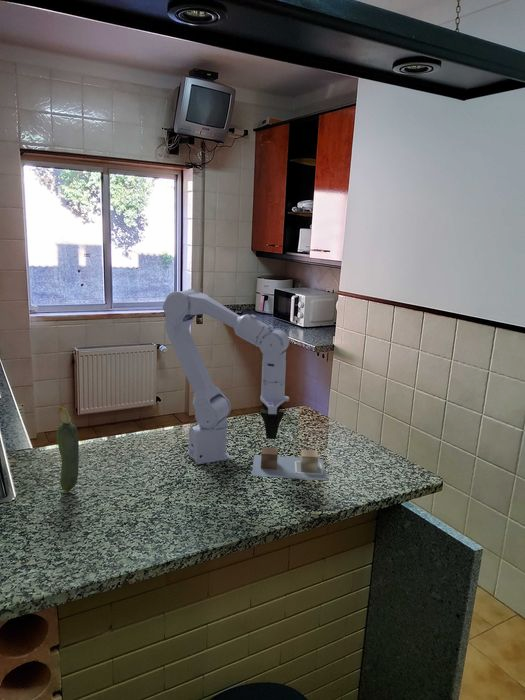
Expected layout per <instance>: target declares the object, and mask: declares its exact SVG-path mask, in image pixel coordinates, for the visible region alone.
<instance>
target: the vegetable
mask: <svg viewBox="0 0 525 700" xmlns="http://www.w3.org/2000/svg"><path fill="white" fill-rule="evenodd" d="M56 412H57V415H59V414H60V419H61V424H60V425H58V427H57V429H56V441H57V447H58V450H59V455H60V459H61V466H60V467H61V469H60V481H59V482H60V487H61V490H62V491H63V493H64V494H67V493H70V492H71V491H72V489H74V487H75V486H76V485H77V482H78V476H79V463H80V462H79V461H80V455H79V454H80V452H79V449H80V448H79V446H80V445H79V442H80V441H79V432H78V431H79V430H78V429H77V427H76V425H75V424H74V423H72V417H71V416H70V413H69V411H68V410H67V408H66V407H63V406H59V407H58V408H57V409H56Z"/></svg>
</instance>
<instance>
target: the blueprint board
mask: <svg viewBox="0 0 525 700" xmlns="http://www.w3.org/2000/svg"><path fill="white" fill-rule="evenodd" d="M300 462H301V457H297V456H284V455H283V456H282V455H281V456H280V455H279V456H278V458H277V470H274V469H261V454H254V455H253V462H252V463H253V464H252V471H251V476H253V477H264V478H265V477H266V478H268V477H269V478H280V479H281V478H282V479H284V478H285V479H287V478H288V479H301V480H315V481H316V480H318V481H327V475H326V470H325V466H324V465H325V464H324V460H323V458H318V468H317V472H307V471H301V466H300Z"/></svg>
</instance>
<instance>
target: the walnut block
mask: <svg viewBox="0 0 525 700" xmlns="http://www.w3.org/2000/svg"><path fill="white" fill-rule="evenodd" d="M278 452H279V448H278V447H266V446H265V447H264V446H261V454H260V455H261V469H274V470H277V458H278V455H279V453H278Z"/></svg>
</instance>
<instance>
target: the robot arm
mask: <svg viewBox="0 0 525 700" xmlns="http://www.w3.org/2000/svg"><path fill="white" fill-rule="evenodd" d="M162 310H163V311H164V317H165V318H164V319H165V320H164V321H165V323H164V326H165V327H164V328H165V333H166V334H167V335H166V336H167V337H168V339H169V342H170V344H171V346H172V348H173V350H174V352H175V355H176V357H177V359H178V361H179V363H180V365H181V368H182V370H183V372H184V375H185V376H186V379H187V381H188V383H189V386H190V388H191V389H192V392H193V401H192V406H193V409H194V418H195V420H196V421H195V422H197V424H196V425H194V426H191V427H190V428H189V430H188V451H187V452H186V453H187V455H188V456H189V457H190V458H192V459H193V461H194V462H195V463H196V464H198V465H201V464H208V463H212V462H218V461H225V460H230V459H232V456H231V455H229V453H227V433H228V421H227V417H228V416H229V415H230V413H231V410H232V404H231V402H230V400H229V399H228V398H227V396H225V395H224V394H223V392H222V389H221V388H220V387H217V386H216V385H214V383H213V381H212V378H211V376H210V374H209V371H208V369H207V367H206V366H205V365H206V364H205V363H204V361H203V358H202V356H201V354H200V352H199V350H198V347H197V345H196V343H195V341H194V339H193V336H192V334H191V332H190V327H191V324H192V322H193V320H194V318H195V317H196V316H197V315H206V316H208V317H210V318H213V319H214V320H217V321H219V322H221V323H223V324H225V325H227V326H229V327H231V328H233V330H234V334H235V335H236V336H237V337H239V338H241V339H243V340H244V341H246V342H248V343H250V344H252V345H254V346H255V347H257V348H259V350H260V352H261V353H262V361H261V387H260V389H261V390H260V393H261V394H260V395H259V396H260V397H259V399H260V400H259V401H260V402H261V404H262V407H263V409H260V416H261V417H262V420H263V423H264V429H265V436H266V439H271V440H275V439H277V435H278V432H279V427H280V423H281V422H282V420H283V417H284V416H285V412H284V411H280V410H281V408H282V406H283V404H284V402H289V401H290V397H289V396H287V395H285V394H286V393H285V392H286V391H285V390H286V373H287V372H286V371H287V370H286V369H287V366H286V365H287V360H286V358H287V351H286V350H287V349H288V347H289V345H290V337H289V335H288V334H287V332H285V331H284V330H283V329H282V328H279V327H278V328H274V326H273V325H272V324H266V323H264V322H262V321H260V320H258V319H257V315H254V314H247V313H246V314H244V315H243V314H242V315H239V314H237V313H236V312H235V311H233V310H231V309H230V308H228V307H226V306H224V305H223V304H221V303H219V302H218V301H216V300H215V299H213V298H211V296H209V295H207V293H204V292H200V291H198V289H195V288H189V289H186V290H182V291H173V292H171V293H169V294H168V295H167V296H166V297H165V301H164V303H163V304H162Z"/></svg>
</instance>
